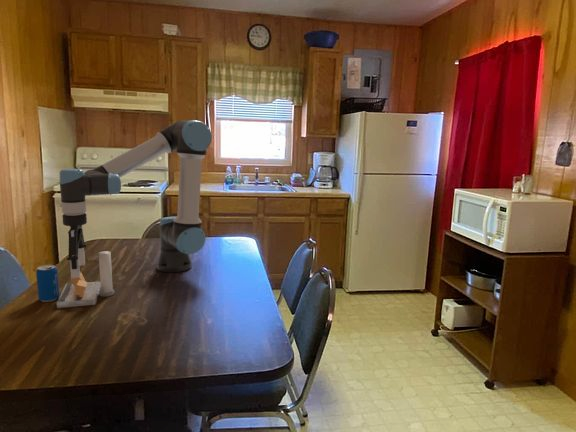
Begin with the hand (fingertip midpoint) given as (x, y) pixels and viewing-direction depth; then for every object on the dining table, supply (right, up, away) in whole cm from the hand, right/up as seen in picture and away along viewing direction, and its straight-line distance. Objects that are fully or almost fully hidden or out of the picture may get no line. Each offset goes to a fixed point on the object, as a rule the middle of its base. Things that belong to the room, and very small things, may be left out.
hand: (78, 271), depth 150 cm
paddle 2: (+1, -8, -3) cm, 9 cm away
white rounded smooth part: (+8, -9, +5) cm, 13 cm away
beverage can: (-10, -10, -1) cm, 14 cm away
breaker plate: (0, -9, +2) cm, 10 cm away
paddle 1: (-2, -7, +6) cm, 9 cm away
